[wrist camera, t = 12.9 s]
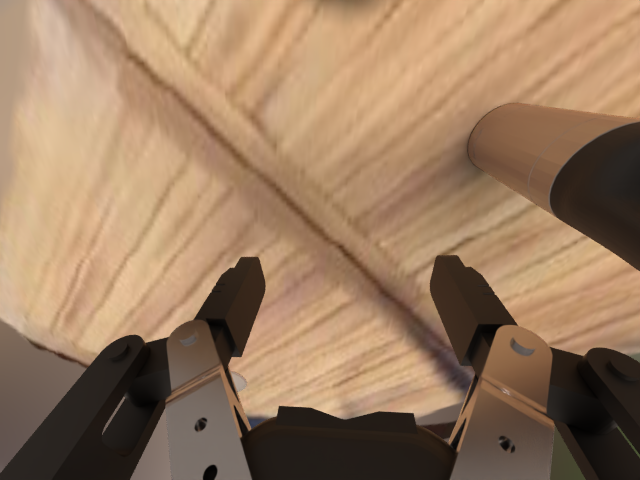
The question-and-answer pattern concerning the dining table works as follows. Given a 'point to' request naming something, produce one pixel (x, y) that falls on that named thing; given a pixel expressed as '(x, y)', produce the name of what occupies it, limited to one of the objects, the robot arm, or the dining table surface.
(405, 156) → the dining table surface
